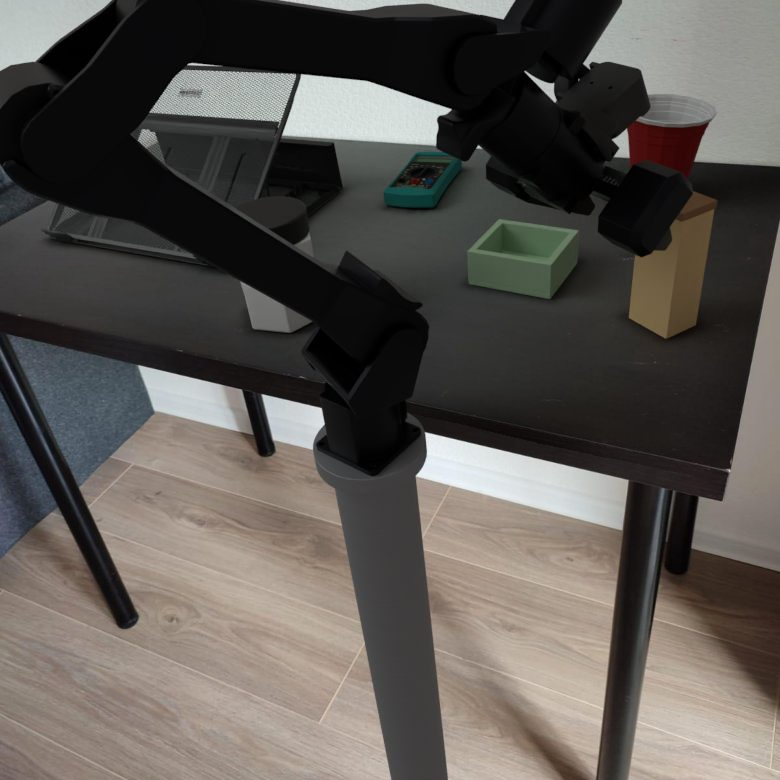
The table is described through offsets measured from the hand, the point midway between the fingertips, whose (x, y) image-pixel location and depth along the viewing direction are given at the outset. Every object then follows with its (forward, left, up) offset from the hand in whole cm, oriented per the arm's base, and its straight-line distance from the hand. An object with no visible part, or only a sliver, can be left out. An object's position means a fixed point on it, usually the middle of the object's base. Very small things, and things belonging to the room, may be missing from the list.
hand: (627, 226), depth 68 cm
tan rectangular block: (+5, -2, -12) cm, 13 cm away
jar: (-13, +33, -12) cm, 37 cm away
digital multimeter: (+22, +40, -12) cm, 47 cm away
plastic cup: (+32, +10, -12) cm, 36 cm away
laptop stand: (0, +64, -12) cm, 65 cm away
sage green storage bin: (+7, +15, -12) cm, 21 cm away
